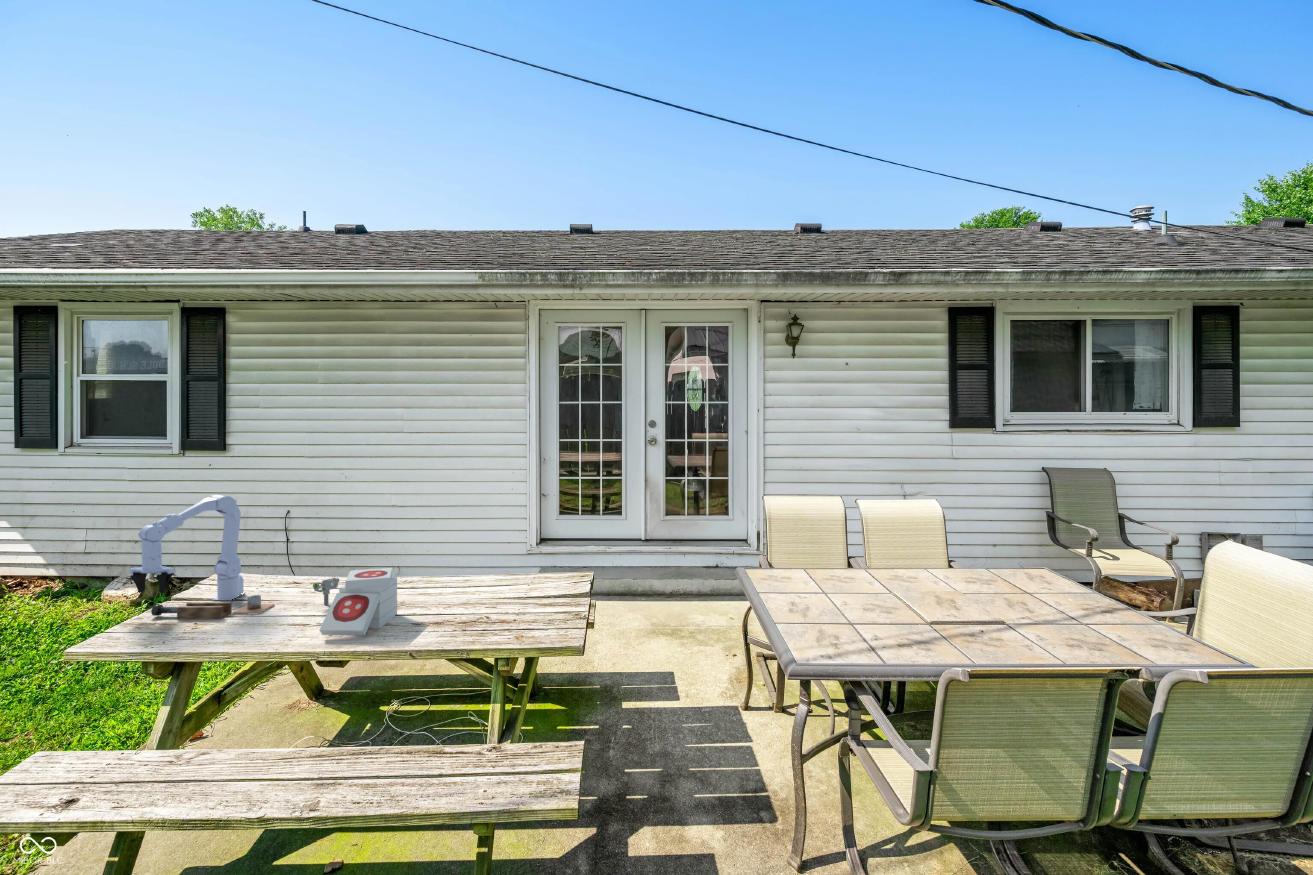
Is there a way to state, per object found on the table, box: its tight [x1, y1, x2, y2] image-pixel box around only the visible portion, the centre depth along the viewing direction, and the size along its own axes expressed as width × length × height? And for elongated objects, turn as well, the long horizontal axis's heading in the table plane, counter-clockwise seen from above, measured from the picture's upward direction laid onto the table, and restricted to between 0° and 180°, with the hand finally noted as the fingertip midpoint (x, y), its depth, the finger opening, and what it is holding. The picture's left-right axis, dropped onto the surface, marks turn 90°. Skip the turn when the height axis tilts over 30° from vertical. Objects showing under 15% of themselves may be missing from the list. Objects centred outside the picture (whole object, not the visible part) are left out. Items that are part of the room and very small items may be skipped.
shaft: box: [150, 604, 178, 617], centre depth 224 cm, size 20×4×4 cm, turn 94°
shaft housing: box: [176, 601, 233, 620], centre depth 224 cm, size 16×6×4 cm, turn 94°
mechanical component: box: [312, 577, 340, 606], centre depth 240 cm, size 3×10×10 cm, turn 152°
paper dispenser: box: [319, 567, 398, 636], centre depth 217 cm, size 19×30×18 cm, turn 1°
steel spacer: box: [246, 594, 262, 610], centre depth 232 cm, size 4×4×5 cm
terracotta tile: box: [232, 603, 275, 615], centre depth 232 cm, size 10×10×1 cm
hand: (152, 591), depth 223 cm, fingers open, 7 cm apart
